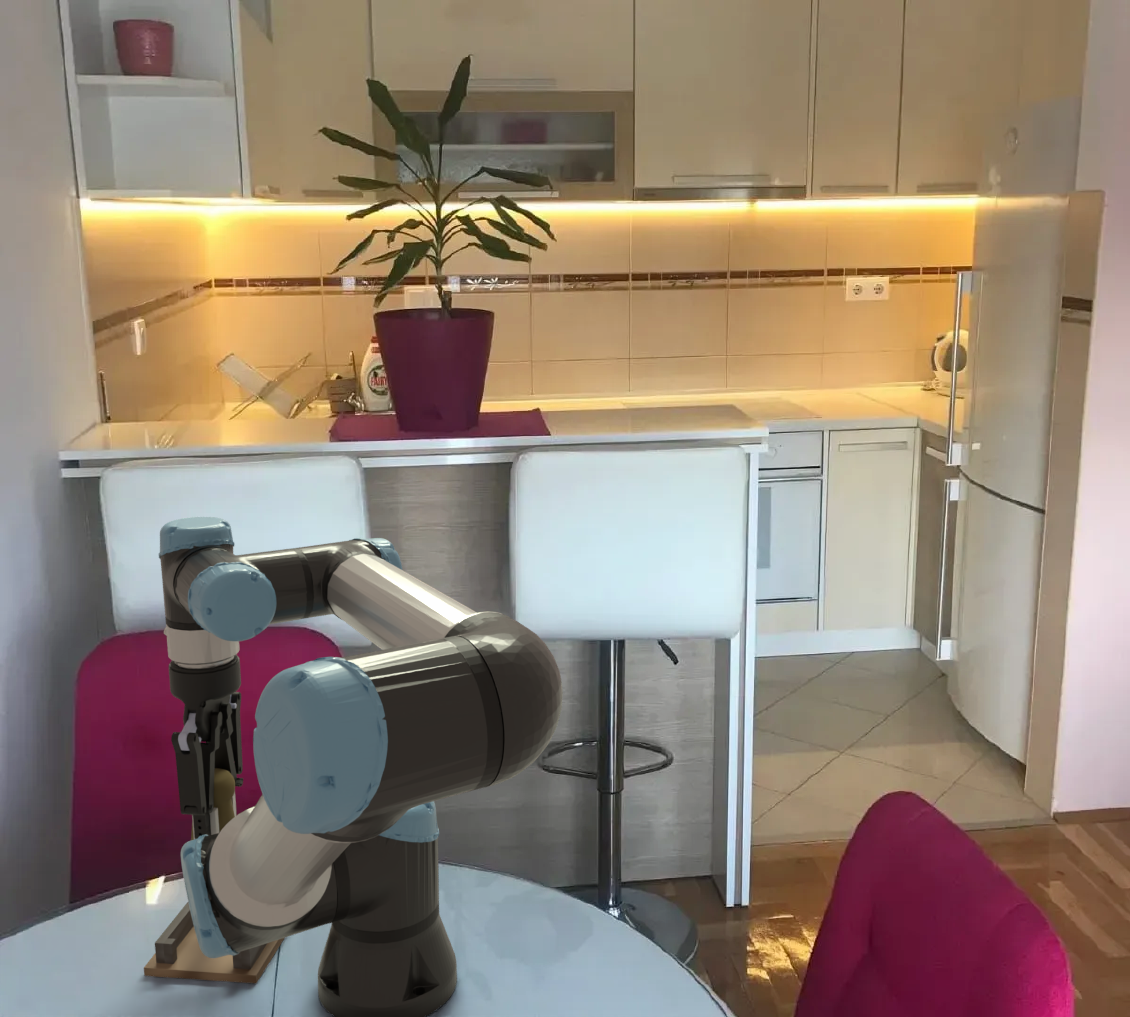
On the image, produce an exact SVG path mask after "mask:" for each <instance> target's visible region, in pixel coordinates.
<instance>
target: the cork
mask: <svg viewBox="0 0 1130 1017" xmlns="http://www.w3.org/2000/svg"><path fill="white" fill-rule="evenodd" d="M234 792H235V793H236V786H235V780H234V777H233V776H232V775H231V773H230V772H229V771H227V770H224V769H220V768H214V806H213V808H218V819H219V833H220V832H221V830H222V829H223V828H224V826H225V825H226V824H227V823H228V822H229V821H230V820H231V819H233V818H234V817H235V815H234V810H233V805H232V801H231V798H232V796H233V795H234ZM191 840H194V835H193V822H191V836H190V841H191Z"/></svg>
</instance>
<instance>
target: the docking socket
mask: <svg viewBox="0 0 1130 1017" xmlns="http://www.w3.org/2000/svg"><path fill="white" fill-rule="evenodd" d="M284 940H285V938H282V939H279V940H276V941H272V942H269V943H266V944H263V945H260V946H257V947H254V948H251V949H248V950H244V951H241V952H240V953H239V954H237V955H226V956H222V957H218V958H209V957H207V956H205V955H204V954H203V953H202V951H201V949H200V946H199V943H198V940H197V936H196V933H195V929H194V925H193V921H192V916H191V912H190V907H189V903H188V901H187V902H186V904H185V905H184V906H183V907H182V909H181V910H180V911H179V912H178V914H177V915H175V917H174V918H173V920H172V921H171V922H170V923H169V925H168V926H167V927H166V928H165V930H164V931H163V932H161V934H160V935H159V937H158V938H157V939H156V941H155V942H154V950H155V952H154V954H153V955H152V957H151V958H150V959H149V960H148V962H147V963H146V964H145V966H144V967H143V976H144V977H156V978H157V977H158V978H171V979H183V980H184V979H186V980H197V981H198V980H200V981H213V982H216V981H217V982H228V983H229V982H230V983H231V982H232V983H244V984H258V982H259V980H260V978H261V977H262V975H263V974H264V973H265V971H266V969H267V967H268V966H269V964H270V963H271V961H272V960H273V958H274V956H275V954H276V953H277V951H278V949H279V948H280V947H281V944H282V943H283V941H284Z"/></svg>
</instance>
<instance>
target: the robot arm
mask: <svg viewBox="0 0 1130 1017" xmlns="http://www.w3.org/2000/svg"><path fill="white" fill-rule="evenodd" d="M232 532H233V531H232V527H231V524H230V523H229V522H228V521H227V520H226V519H223V518H220V517H211V516H194V517H193V516H192V517H186V518H179V519H174V520H171V521H169V522H167V523H165V524H164V525H163V526H161V529H160V531H159V553H158V558H159V560H160V567H161V568H160V571H161V582H162V593H163V602H164V603H163V604H164V616H165V618H164V619H165V628H164V630H163V634H164V635H165V636H166V644H167V656H168V658H169V659H170V660H171V661H170V662H169V664H168V676H169V690H170V693H171V695H172V696H173V697H174V698H175V699H178V700H180V701H181V702H182V703H183V704H184V709H183V716H182V717H183V718H182V721H183V728H182V730H181V731H174V732H172V734H171V743H172V747H173V750H174V753H175V764H176V772H177V774H176V775H177V776H176V777H177V786H178V787H177V788H178V797H179V809H180V814H181V815H188V816H189V815H190V816H191V818H192V822H193V835H194V840H191V839H190V840H189V841H186V842H185V843H184V844H183V846H181V849H180V862H181V869H182V876H183V881H184V888H185V892H186V897H187V902H188V903H189V907H190V912H191V916H192V921H193V925H194V929H195V933H196V936H197V940H198V943H199V946H200V949H201V951H202V953H203V954H204V955H205V956H207V957H209V958H218V957H222V956H226V955H237V954H239V953H240V952H241V951H244V950H248V949H251V948H254V947H257V946H260V945H263V944H266V943H269V942H272V941H276V940H279V939H282V938H284V939H285V938H288V937H290V936H293V935H297V934H300V933H304V932H306V931H309V930H312V929H317V928H319V927H322V926H325V925H328V924H331V925H330V927H329V928H330V929H329V933H328V935H327V939H326V942H325V945H324V949H323V952H322V955H321V958H320V962H319V965H318V969H317V991H318V992H317V993H318V998H319V1001H320V1003H321V1006H323V1008H324V1009H325V1010H326V1011H327V1012H328V1013H329V1015H331V1016H333V1017H428V1016H429V1015H431V1014H433V1013H434V1012H436V1011H437V1010H439V1009H440V1008H441V1007H443V1005H445V1004H446V1003H447V1001H449V999H450V998H451V997H452V995H453V994H454V991H455V989H456V986H457V982H458V981H457V980H458V974H457V973H458V971H457V968H458V966H457V958H456V953H455V950H454V948H453V946H452V942H451V940H450V938H449V935H448V933H447V930H446V927H445V926H444V923H443V920H442V917H441V915H440V887H439V886H440V884H439V883H440V879H439V875H440V874H439V836H440V829H439V827H438V819H437V809H436V807H437V806H436V803H435V801H439V800H443V799H447V798H450V797H451V798H452V797H454V796H458V795H461V794H465V793H469V792H472V791H475V790H480V789H484V788H489V787H492V786H495V785H499V784H502V783H503V782H506V781H508V780H511V779H513V778H514V777H516V776H517V775H519V774H521V772H523V771H525V770H526V769H527V768H528V767H529V766H531V765H532V764H534V762H535V761H536V760H537V759H538V758H539V757H540V755H541V754H542V753H543V752H544V750H546V748H547V746H548V745H549V744H550V742H551V740H552V738H553V736H554V734H555V732H556V730H557V728H558V724H559V721H560V720H559V719H560V717H561V713H562V708H563V695H564V692H563V691H564V690H563V684H562V677H561V671H560V669H559V666H558V664H557V661H556V659H555V656H554V654H553V653H552V652H551V650H550V649H549V647H548V646H547V644H546V643H545V641H544V640H542V638H541V637H540V636H539V635H538V634H537V633H535V632H534V631H532V630H531V629H529V628H528V627H527V626H526V625H524V624H522V623H520V622H519V621H517V620H516V619H513V618H512V617H509V616H508V615H505V614H503V613H501V612H497V611H480V612H476V610H473V609H471V608H470V607H468V606H466V605H464V604H463V603H461V602H459V601H457V600H456V599H455V598H452V597H451V596H449V595H447V594H445V593H444V592H441V591H439V590H438V589H437V588H434V587H433V586H431V585H429V584H428V583H426V582H423V581H422V580H420V579H418V578H417V577H415V576H413V575H412V574H410V573H408V572H407V571H404V570H403V565H402V561H401V557H400V555H399V552H398V551H397V550H396V548H395V545H394V543H392V542H391V541H389V540H388V539H385V538H383V537H374V538H363V537H362V538H361V537H356V538H353V539H349V540H344V541H343V540H342V541H336V542H330V543H322V544H321V543H320V544H315V545H307V546H302V547H301V546H299V547H293V548H286V549H285V548H283V549H277V550H276V549H275V550H268V551H260V552H259V551H258V552H253V553H245V554H237V555H235V554H234V547H235V541H234V540H233V533H232ZM329 615H334V616H335V617H337V618H338V619H340V620H342V621H343V622H344V623H346V624H347V625H348V626H350V627H351V628H353V629H354V630H355V631H356V632H358V634H360V635H362V636H363V637H364V638H365V639H367V640H368V641H370V642H371V643H372V644H374V645H375V646H377V648H379V649H380V650H375V651H369V652H365V653H359V654H353V655H347V656H343V657H338V656H335V657H334V656H324V657H323V656H322V657H317V658H316V659H314V660H310V661H306V662H305V663H301V664H298V665H295V666H292V667H288V668H285V669H283V670H282V671H280V672H277V674H275V675H274V676H273V677H272V678H271V679H270V680H269V681H268V683H267V684H266V685H265V687H264V688H263V690H262V692H261V694H260V697H259V699H258V702H257V706H256V709H255V714H254V719H255V721H256V727H255V728H254V729H253V737H252V744H253V746H252V748H253V758H254V766H255V772H256V773H255V774H256V776H257V780H258V781H257V782H258V784H259V787H260V788H259V789H260V791H261V795H260V797H259V799H258V800H257V802H256V804H255V805H254V806H252V807H250V808H248V809H245V810H244V811H241V812H240V813H238V814H237V802H236V791H235V792H234V795H233V796H232V798H231V801H232V805H233V810H234V815H235V817H234V818H233V819H231V820H230V821H229V822H228V823H227V824H226V825H225V826H224V828H223V829H222V830H221V832H220V833H219V819H218V808H213V806H214V768H220V769H224V770H227V771H229V772H230V773H231V775H232V776H233V777H234V780H235V787H240V788H241V787H242V786H243V784H244V777H238V776H237V775H242V773H243V748H242V747H243V746H242V729H241V728H242V724H241V704H242V693H241V691H238V690H239V689H240V687H241V685H242V677H241V676H242V675H241V661H240V660H241V659H240V657H239V656H238V653H239V651H240V642H244V641H247V640H250V639H252V638H255V637H256V636H257V635H259V634H261V633H262V632H263V631H265V629H267V628H268V627H269V625H274V624H282V623H286V622H293V621H299V620H305V619H310V618H316V617H322V616H323V617H324V616H329ZM192 822H191V823H192Z"/></svg>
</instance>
